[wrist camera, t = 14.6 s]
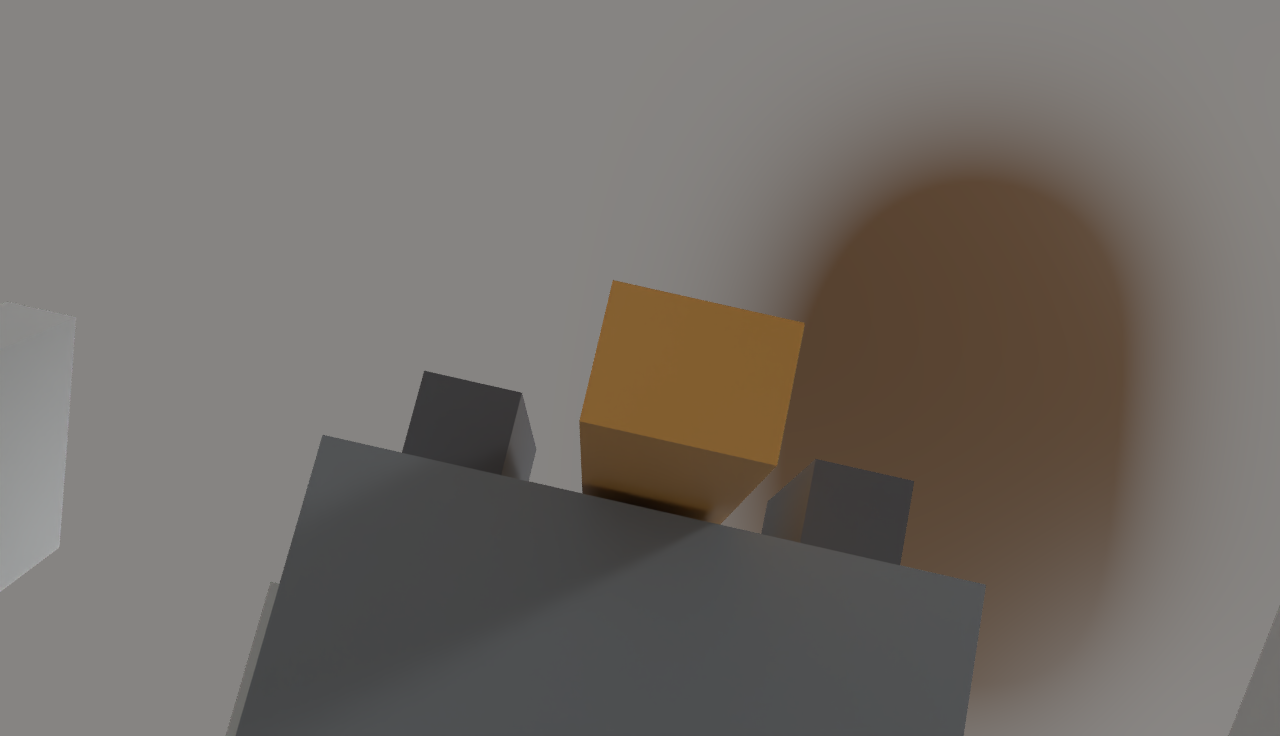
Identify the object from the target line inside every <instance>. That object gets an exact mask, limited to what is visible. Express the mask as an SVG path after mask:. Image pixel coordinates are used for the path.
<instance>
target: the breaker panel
mask: <svg viewBox="0 0 1280 736" xmlns="http://www.w3.org/2000/svg"><path fill="white" fill-rule="evenodd" d="M535 452H536V446H535V442H534V438H533V435H532V431H531V427H530V423H529V419H528V415H527V411H526V407H525V403H524V399H523V395H522V393H520V392H516V391H511V390H507V389H502V388H498V387H494V386H489V385H485V384H480V383H475V382H471V381H467V380H462V379H458V378H454V377H449V376H445V375H440V374H436V373H431V372H427V371H424V374H423V378H422V382H421V385H420V389H419V392H418V396H417V400H416V404H415V407H414V411H413V414H412V418H411V422H410V425H409V429H408V433H407V436H406V440H405V444H404V447H403V451H402V453H400V452H396V451H392V450H387V449H383V448H378V447H374V446H370V445H365V444H361V443H356V442H352V441H348V440H343V439H339V438H334V437H330V436H325V435H323V436H322V439H321V442H320V446H319V449H318V453H317V456H316V460H315V464H314V467H313V470H312V474H311V477H310V480H309V484H308V488H307V491H306V494H305V498H304V501H303V505H302V508H301V511H300V515H299V518H298V522H297V525H296V529H295V532H294V536H293V539H292V543H291V546H290V549H289V553H288V556H287V560H286V563H285V567H284V570H283V574H282V577H281V580H280V584H277V583H273V582H270V586H269V589H268V593H267V596H266V600H265V603H264V606H263V610H262V613H261V617H260V620H259V624H258V627H257V630H256V634H255V637H254V641H253V644H252V648H251V651H250V654H249V658H248V661H247V665H246V668H245V672H244V675H243V678H242V682H241V685H240V689H239V692H238V696H237V699H236V702H235V706H234V710H233V713H232V716H231V719H230V723H229V726H228V730H227V733H226V736H963V735H964V729H965V722H966V715H967V708H968V701H969V695H970V688H971V681H972V675H973V668H974V661H975V654H976V648H977V641H978V635H979V628H980V621H981V615H982V608H983V601H984V594H985V588H986V585H984V584H980V583H975V582H971V581H967V580H962V579H958V578H953V577H949V576H944V575H940V574H936V573H931V572H926V571H922V570H918V569H914V568H909V567H905V566H900V562H901V557H902V550H903V544H904V538H905V533H906V527H907V521H908V515H909V509H910V502H911V496H912V491H913V484H914V481H911V480H906V479H902V478H897V477H893V476H889V475H884V474H879V473H875V472H871V471H867V470H862V469H858V468H853V467H849V466H844V465H840V464H835V463H831V462H827V461H822V460H818V459H815V460H814V461H813V462H812V463H811V464H810V465H809V466H807V467H806V468H805V469H804V470H803V471H802V472H801V473H799V474H798V475H797V476H796V477H795V478H794V479H793V480H792V481H791V482H789V483H788V484H787V485H786V486H785V487H784V488H783V489H781V490H780V491H779V492H778V493H777V494H776V495H775V496H774V497H772V498H771V499H770V500H769V501H768V503H767V508H766V513H765V518H764V523H763V528H762V534H759V533H754V532H750V531H745V530H741V529H736V528H732V527H727V526H723V525H719V524H715V523H710V522H706V521H701V520H697V519H692V518H688V517H684V516H679V515H675V514H670V513H666V512H661V511H657V510H653V509H648V508H644V507H639V506H635V505H631V504H626V503H622V502H617V501H613V500H608V499H604V498H600V497H595V496H591V495H586V494H582V493H577V492H573V491H569V490H564V489H559V488H555V487H551V486H547V485H542V484H537V483H533V482H529V476H530V473H531V469H532V464H533V461H534V457H535Z"/></svg>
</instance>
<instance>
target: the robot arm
mask: <svg viewBox="0 0 1280 736" xmlns="http://www.w3.org/2000/svg"><path fill="white" fill-rule="evenodd" d="M75 325H76V317H74V316H70V315H65V314H60V313H56V312H51V311H47V310H43V309H38V308H34V307H29V306H25V305H20V304H16V303H11V302H5V303H2V304H0V591H2V590H3V589H5V588H6V587H7V586H8V585H10V584H11V583H13V582H14V581H15V580H17V579H18V578H19V577H21V576H22V575H23V574H24V573H26V572H27V571H28V570H30V569H31V568H32V567H34V566H35V565H36V564H38V563H39V562H40V561H42V560H43V559H44V558H46V557H47V556H48V555H50V554H51V553H52V552H54V551H55V550H56V549H58V548H59V546H60V532H61V519H62V518H61V517H62V505H63V489H64V477H65V463H66V449H67V435H68V421H69V407H70V393H71V380H72V366H73V350H74V338H75ZM1228 736H1280V607H1279V609H1278V611H1277V614H1276V616H1275V619H1274V622H1273V624H1272V627H1271V629H1270V632H1269V634H1268V637H1267V639H1266V642H1265V645H1264V647H1263V649H1262V652H1261V654H1260V657H1259V659H1258V662H1257V665H1256V667H1255V670H1254V672H1253V675H1252V677H1251V680H1250V682H1249V685H1248V687H1247V690H1246V693H1245V695H1244V697H1243V700H1242V702H1241V705H1240V708H1239V710H1238V713H1237V715H1236V718H1235V720H1234V723H1233V725H1232V728H1231V730H1230V733H1229V735H1228Z"/></svg>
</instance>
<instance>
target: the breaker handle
mask: <svg viewBox="0 0 1280 736" xmlns="http://www.w3.org/2000/svg"><path fill="white" fill-rule="evenodd" d="M804 325H805V323H802V322H798V321H793V320H789V319H784V318H779V317H775V316H771V315H766V314H762V313H757V312H752V311H748V310H744V309H739V308H735V307H731V306H726V305H722V304H717V303H712V302H708V301H704V300H699V299H695V298H690V297H686V296H681V295H677V294H672V293H668V292H664V291H659V290H654V289H650V288H645V287H641V286H637V285H632V284H628V283H623V282H619V281H614V280H613V282H612V286H611V291H610V295H609V299H608V304H607V307H606V312H605V316H604V320H603V325H602V329H601V333H600V337H599V341H598V345H597V350H596V354H595V358H594V362H593V366H592V371H591V375H590V379H589V383H588V387H587V392H586V396H585V400H584V404H583V409H582V413H581V417H580V445H581V468H582V491H583V494H586V495H591V496H595V497H600V498H604V499H608V500H613V501H617V502H622V503H626V504H631V505H635V506H639V507H644V508H648V509H653V510H657V511H661V512H666V513H670V514H675V515H679V516H684V517H688V518H692V519H697V520H701V521H706V522H710V523H715V524H719V525H720V524H721V523H722V522H723V521H724V520H725V519H726V518H727V517H728V516H729V515H730V514H731V513H732V512H733V511H734V510H735V509H736V508H737V507H738V506H739V504H740V503H741V502H742V501H743V500H744V499H745V498H746V497H747V496H748V495H749V494H750V493H751V492H752V491H753V490H754V489H755V488H756V487H757V486H758V485H759V484H760V483H761V482H762V481H763V480H764V479H765V477H767V475H768V474H769V473H770V472H771V471H772V470H773V469H774V468H775V467H776V466H777V463H778V458H779V452H780V448H781V442H782V437H783V432H784V427H785V422H786V417H787V412H788V406H789V401H790V396H791V391H792V386H793V381H794V376H795V370H796V366H797V361H798V355H799V350H800V345H801V340H802V335H803V330H804Z"/></svg>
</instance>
